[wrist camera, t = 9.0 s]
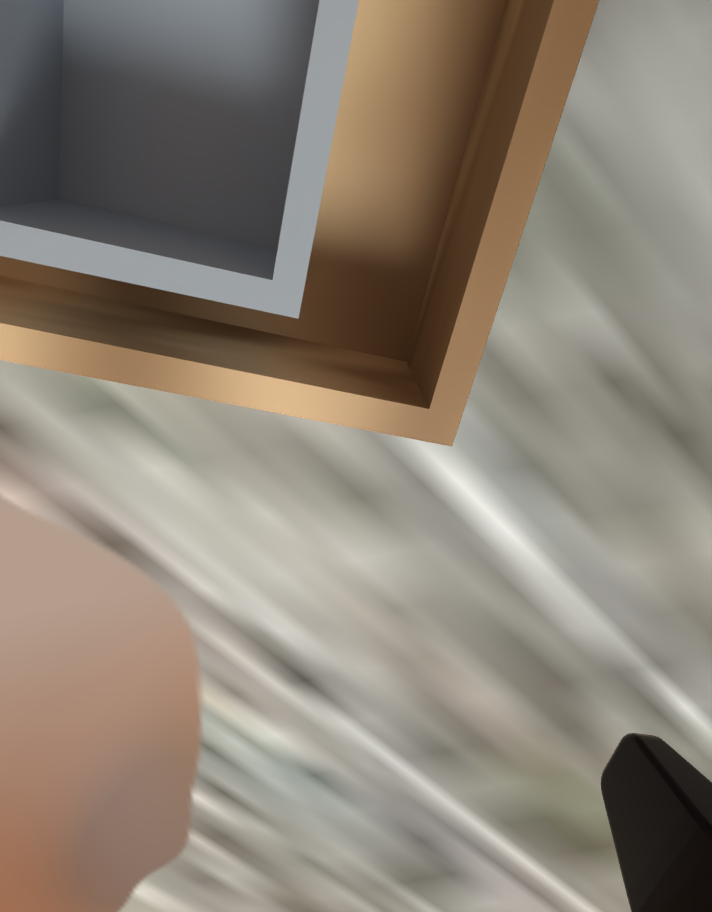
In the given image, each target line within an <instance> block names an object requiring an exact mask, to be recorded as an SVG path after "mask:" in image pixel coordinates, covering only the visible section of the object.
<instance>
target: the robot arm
mask: <svg viewBox="0 0 712 912" xmlns="http://www.w3.org/2000/svg"><path fill="white" fill-rule="evenodd" d="M601 790H602V796H603V800H604V804H605V808H606V812H607V816H608V820H609V824H610V828H611V832H612V836H613V840H614V844H615V848H616V852H617V856H618V860H619V864H620V868H621V873H622V877H623V881H624V885H625V889H626V893H627V897H628V900H629V904H630V908H631V911H632V912H712V782H710V781H709V780H708V779H707V778H706V777H705V776H704V775H702V774H701V773H700V772H699V771H698V770H697V769H696V768H694V767H693V766H692V765H691V764H690V763H689V762H687V761H686V760H685V759H684V758H683V757H682V756H681V755H679V754H678V753H677V752H676V751H675V750H674V749H673V748H671V747H670V746H669V745H668V744H667V743H666V742H664V741H663V740H662V739H660V738H659V737H656V736H653V735H646V734H637V733H629V734H627V735H625V736H624V737H623V738H622V739H621V741H620V743H619V745H618V746H617V748H616V750H615V751H614V753H613V755H612V757H611V758H610V760H609V762H608V763H607V765H606V767H605V769H604V770H603V773H602V777H601Z"/></svg>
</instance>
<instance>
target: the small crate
mask: <svg viewBox="0 0 712 912" xmlns="http://www.w3.org/2000/svg"><path fill="white" fill-rule="evenodd" d="M358 2H359V0H0V256H4V257H8V258H13V259H18V260H23V261H27V262H32V263H37V264H42V265H46V266H51V267H56V268H61V269H65V270H70V271H75V272H80V273H84V274H89V275H94V276H98V277H103V278H108V279H113V280H117V281H122V282H127V283H132V284H136V285H141V286H146V287H151V288H155V289H160V290H165V291H170V292H174V293H179V294H184V295H188V296H193V297H198V298H203V299H207V300H212V301H217V302H222V303H226V304H231V305H236V306H241V307H245V308H250V309H255V310H260V311H264V312H269V313H274V314H278V315H283V316H288V317H293V318H297V319H298V318H299V313H300V308H301V302H302V297H303V292H304V287H305V281H306V276H307V271H308V266H309V260H310V255H311V250H312V245H313V239H314V234H315V229H316V223H317V218H318V213H319V208H320V202H321V197H322V192H323V187H324V181H325V176H326V171H327V166H328V160H329V155H330V150H331V145H332V139H333V134H334V129H335V123H336V118H337V113H338V108H339V102H340V97H341V92H342V87H343V81H344V76H345V71H346V66H347V60H348V55H349V50H350V45H351V39H352V34H353V29H354V23H355V18H356V13H357V8H358Z"/></svg>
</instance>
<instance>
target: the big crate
mask: <svg viewBox="0 0 712 912" xmlns="http://www.w3.org/2000/svg"><path fill="white" fill-rule="evenodd" d="M598 3H599V0H359V2H358V8H357V13H356V18H355V23H354V29H353V34H352V39H351V45H350V50H349V55H348V60H347V66H346V71H345V76H344V81H343V87H342V92H341V97H340V102H339V108H338V113H337V118H336V123H335V129H334V134H333V139H332V145H331V150H330V155H329V160H328V166H327V171H326V176H325V181H324V187H323V192H322V197H321V202H320V208H319V213H318V218H317V223H316V229H315V234H314V239H313V245H312V250H311V255H310V260H309V266H308V271H307V276H306V281H305V287H304V292H303V297H302V302H301V308H300V313H299V318H298V319H297V318H293V317H288V316H283V315H278V314H274V313H269V312H264V311H260V310H255V309H250V308H245V307H241V306H236V305H231V304H226V303H222V302H217V301H212V300H207V299H203V298H198V297H193V296H188V295H184V294H179V293H174V292H170V291H165V290H160V289H155V288H151V287H146V286H141V285H136V284H132V283H127V282H122V281H117V280H113V279H108V278H103V277H98V276H94V275H89V274H84V273H80V272H75V271H70V270H65V269H61V268H56V267H51V266H46V265H42V264H37V263H32V262H27V261H23V260H18V259H13V258H8V257H4V256H0V360H4V361H9V362H14V363H19V364H24V365H30V366H35V367H40V368H45V369H51V370H56V371H61V372H66V373H71V374H77V375H82V376H87V377H92V378H98V379H103V380H108V381H113V382H118V383H124V384H129V385H134V386H139V387H145V388H150V389H155V390H160V391H165V392H171V393H176V394H181V395H186V396H192V397H197V398H202V399H207V400H212V401H218V402H223V403H228V404H233V405H239V406H244V407H249V408H254V409H259V410H265V411H270V412H275V413H280V414H285V415H291V416H296V417H301V418H306V419H312V420H317V421H322V422H327V423H332V424H338V425H343V426H348V427H353V428H359V429H364V430H369V431H374V432H379V433H385V434H390V435H395V436H400V437H406V438H411V439H416V440H421V441H426V442H432V443H437V444H442V445H447V446H452V445H453V442H454V439H455V436H456V433H457V430H458V427H459V424H460V421H461V418H462V414H463V411H464V408H465V405H466V402H467V399H468V396H469V393H470V390H471V387H472V384H473V381H474V378H475V375H476V372H477V369H478V366H479V363H480V360H481V357H482V354H483V351H484V348H485V345H486V342H487V339H488V336H489V333H490V330H491V327H492V324H493V321H494V318H495V315H496V312H497V309H498V305H499V302H500V299H501V296H502V293H503V290H504V287H505V284H506V281H507V278H508V275H509V272H510V269H511V266H512V263H513V260H514V257H515V254H516V251H517V248H518V245H519V242H520V239H521V236H522V233H523V230H524V227H525V224H526V221H527V218H528V215H529V212H530V209H531V206H532V203H533V199H534V196H535V193H536V190H537V187H538V184H539V181H540V178H541V175H542V172H543V169H544V166H545V163H546V160H547V157H548V154H549V151H550V148H551V145H552V142H553V139H554V136H555V133H556V130H557V127H558V124H559V121H560V118H561V115H562V112H563V109H564V106H565V103H566V100H567V97H568V94H569V90H570V87H571V84H572V81H573V78H574V75H575V72H576V69H577V66H578V63H579V60H580V57H581V54H582V51H583V48H584V45H585V42H586V39H587V36H588V33H589V30H590V27H591V24H592V21H593V18H594V15H595V12H596V9H597V6H598Z"/></svg>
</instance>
